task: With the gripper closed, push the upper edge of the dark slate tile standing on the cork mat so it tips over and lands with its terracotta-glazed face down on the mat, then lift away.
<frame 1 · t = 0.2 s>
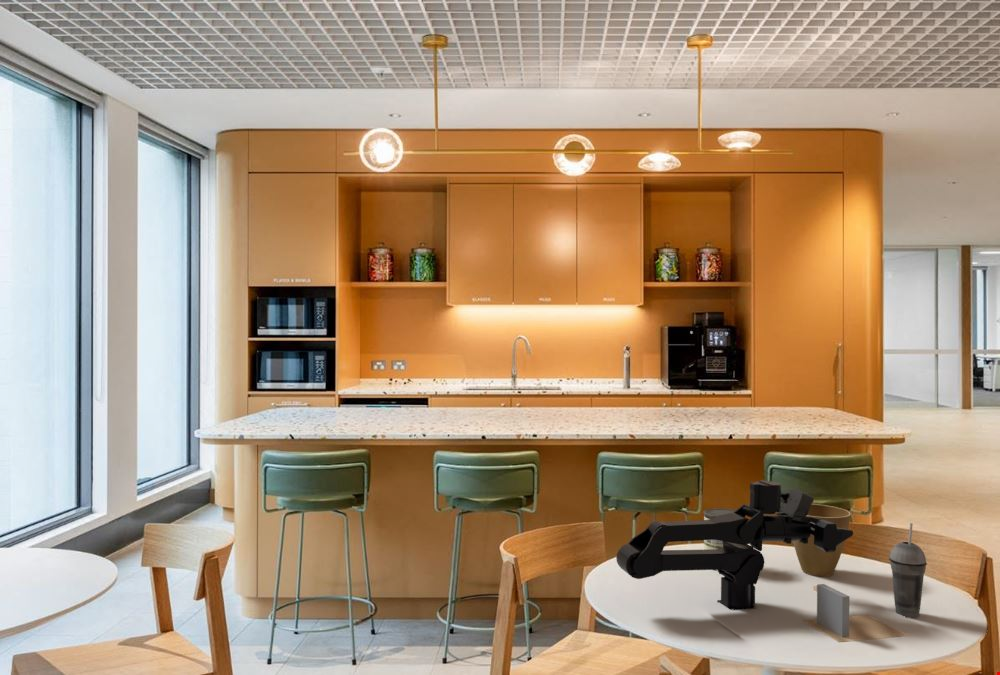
hand: (839, 527, 181), 16 cm above the table, tool horizontal, fingers open, 9 cm apart
beverage cup: (907, 615, 172), on the table
cork mat: (853, 630, 162), on the table
plant pot: (818, 573, 202), on the table
coffee can: (723, 567, 207), on the table
slate tile: (832, 629, 161), point 1 cm above the table, touching cork mat
wooden turner: (841, 602, 179), on the table
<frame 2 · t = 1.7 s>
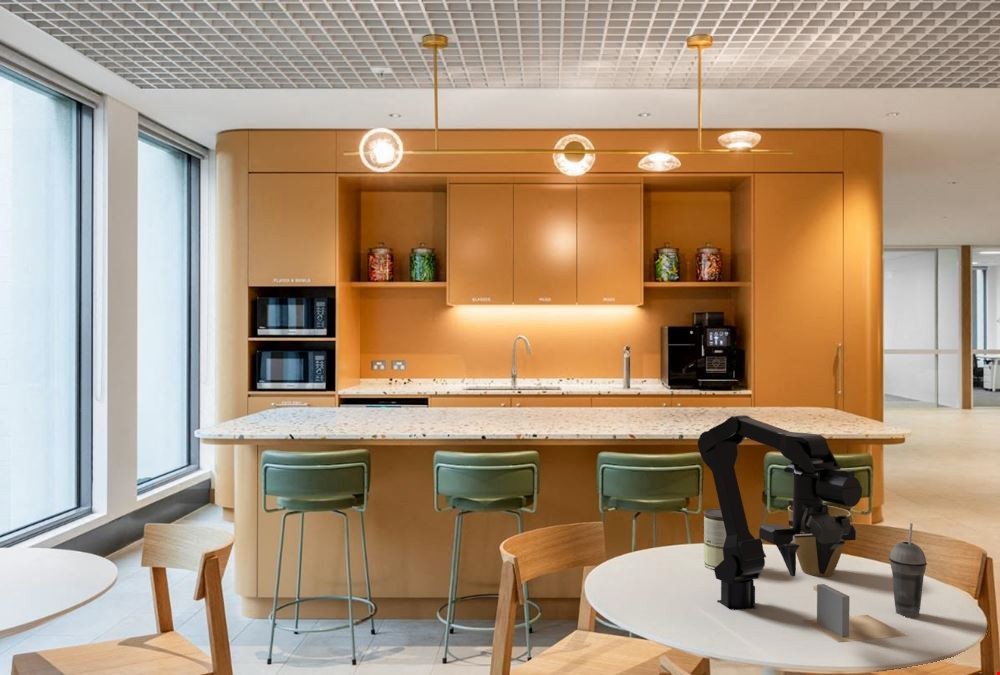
hand: (807, 575, 159), 12 cm above the table, tool pointing down, fingers open, 6 cm apart
nothing on the table moved.
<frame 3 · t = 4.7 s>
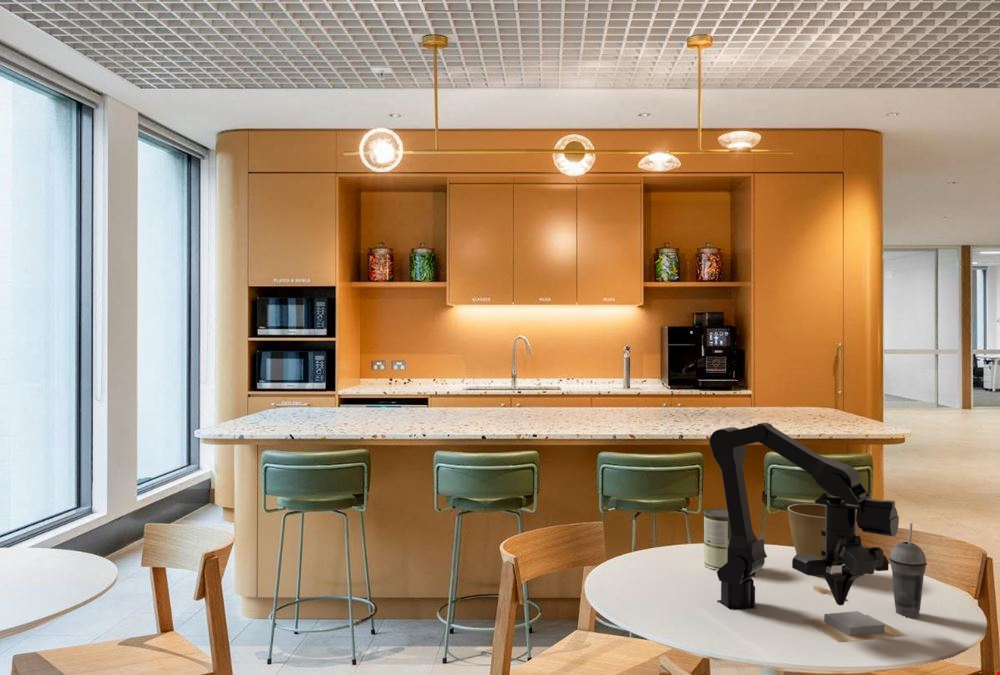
hand: (839, 604, 161), 6 cm above the table, tool pointing down, fingers closed
slate tile: (836, 624, 161), point 2 cm above the table, tilted 90°, touching cork mat
everything else where it was.
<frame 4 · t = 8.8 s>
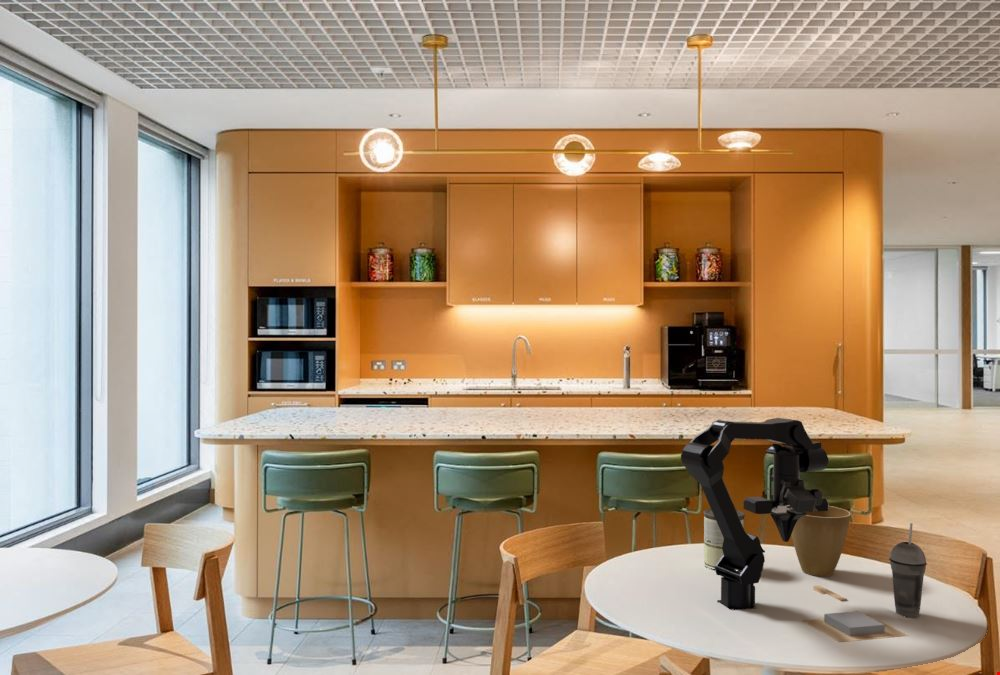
hand: (785, 541, 182), 13 cm above the table, tool pointing down, fingers closed
nothing on the table moved.
at the end: slate tile tilted 90°; slate tile inside the target area on the cork mat (5.0 cm from its centre), point 1.5 cm above the cork mat's base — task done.
